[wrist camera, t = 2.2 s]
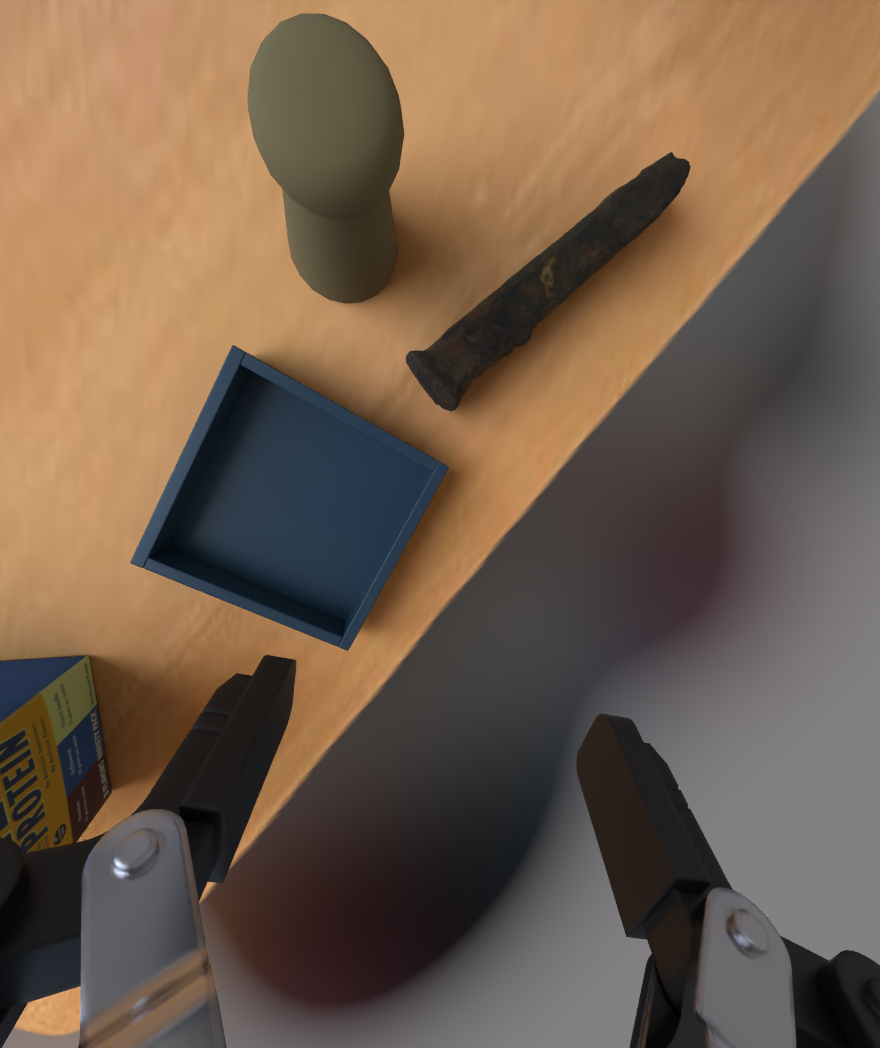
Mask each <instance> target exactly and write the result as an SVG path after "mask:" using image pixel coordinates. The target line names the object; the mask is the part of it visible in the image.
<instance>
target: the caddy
mask: <svg viewBox="0 0 880 1048" xmlns="http://www.w3.org/2000/svg"><path fill="white" fill-rule="evenodd" d="M448 468H449V467H448V466H446V465H445V464H443V463H441V462H439V461H437V460H436V459H434V458H432V457H430V456H429V455H427V454H425V453H423V452H422V451H420V450H418V449H416V448H414V447H413V446H411V445H409V444H407V443H406V442H404V441H402V440H400V439H399V438H397V437H395V436H393V435H391V434H390V433H388V432H386V431H384V430H383V429H381V428H379V427H377V426H376V425H374V424H372V423H370V422H368V421H367V420H365V419H363V418H361V417H360V416H358V415H356V414H354V413H353V412H351V411H349V410H347V409H346V408H344V407H342V406H340V405H338V404H337V403H335V402H333V401H331V400H330V399H328V398H326V397H324V396H323V395H321V394H319V393H317V392H315V391H314V390H312V389H310V388H308V387H307V386H305V385H303V384H301V383H300V382H298V381H296V380H294V379H292V378H291V377H289V376H287V375H285V374H284V373H282V372H280V371H278V370H277V369H275V368H273V367H271V366H269V365H268V364H266V363H264V362H262V361H261V360H259V359H257V358H255V357H254V356H252V355H250V354H248V353H246V352H245V351H243V350H241V349H239V348H238V347H236V346H234V345H233V346H232V347H231V350H230V352H229V354H228V356H227V358H226V360H225V362H224V364H223V367H222V369H221V371H220V373H219V375H218V377H217V379H216V381H215V384H214V386H213V388H212V390H211V392H210V394H209V396H208V398H207V401H206V403H205V405H204V407H203V409H202V411H201V413H200V415H199V418H198V420H197V422H196V424H195V426H194V428H193V430H192V432H191V434H190V437H189V439H188V441H187V443H186V445H185V447H184V449H183V451H182V454H181V456H180V458H179V460H178V462H177V464H176V466H175V468H174V471H173V473H172V475H171V477H170V479H169V481H168V483H167V485H166V488H165V490H164V492H163V494H162V496H161V498H160V500H159V502H158V505H157V507H156V509H155V511H154V513H153V515H152V517H151V519H150V522H149V524H148V526H147V528H146V530H145V532H144V534H143V536H142V538H141V541H140V543H139V545H138V547H137V549H136V551H135V553H134V555H133V558H132V560H131V562H130V563H132V564H134V565H136V566H139V567H141V568H145V569H147V570H149V571H152V572H154V573H157V574H159V575H162V576H164V577H167V578H169V579H172V580H174V581H176V582H179V583H181V584H184V585H186V586H189V587H191V588H194V589H196V590H199V591H201V592H204V593H206V594H209V595H211V596H214V597H216V598H219V599H221V600H223V601H226V602H228V603H231V604H233V605H236V606H238V607H241V608H243V609H246V610H248V611H251V612H253V613H256V614H258V615H261V616H263V617H266V618H268V619H271V620H273V621H275V622H278V623H280V624H283V625H285V626H288V627H290V628H293V629H295V630H298V631H300V632H303V633H305V634H308V635H310V636H313V637H315V638H318V639H320V640H322V641H325V642H327V643H330V644H332V645H335V646H338V647H340V648H342V649H345V650H347V651H348V650H349V648H350V647H351V645H352V643H353V641H354V639H355V637H356V636H357V634H358V632H359V630H360V628H361V627H362V625H363V623H364V621H365V619H366V617H367V616H368V614H369V612H370V610H371V608H372V607H373V605H374V603H375V601H376V599H377V597H378V596H379V594H380V592H381V590H382V588H383V587H384V585H385V583H386V581H387V579H388V577H389V576H390V574H391V572H392V570H393V568H394V567H395V565H396V563H397V561H398V559H399V557H400V556H401V554H402V552H403V550H404V548H405V546H406V545H407V543H408V541H409V539H410V537H411V536H412V534H413V532H414V530H415V528H416V526H417V525H418V523H419V521H420V519H421V517H422V516H423V514H424V512H425V510H426V508H427V506H428V505H429V503H430V501H431V499H432V497H433V496H434V494H435V492H436V490H437V488H438V486H439V485H440V483H441V481H442V479H443V477H444V476H445V474H446V472H447V470H448Z"/></svg>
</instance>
